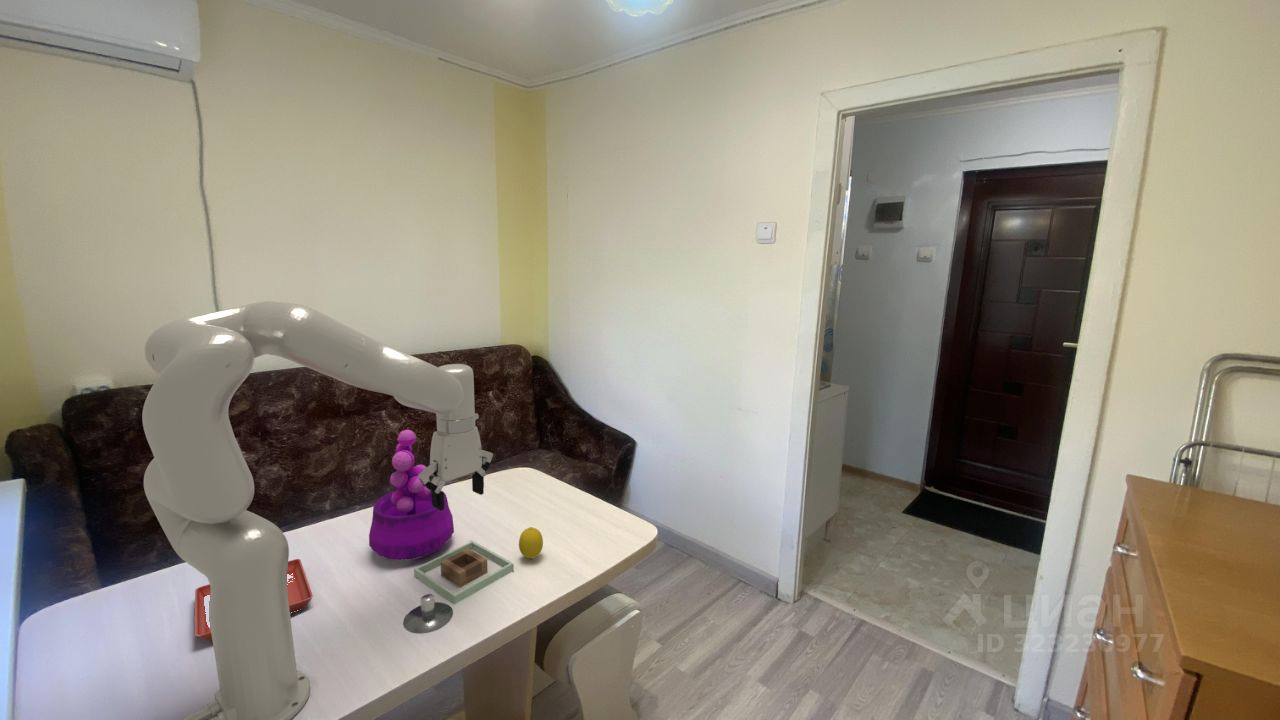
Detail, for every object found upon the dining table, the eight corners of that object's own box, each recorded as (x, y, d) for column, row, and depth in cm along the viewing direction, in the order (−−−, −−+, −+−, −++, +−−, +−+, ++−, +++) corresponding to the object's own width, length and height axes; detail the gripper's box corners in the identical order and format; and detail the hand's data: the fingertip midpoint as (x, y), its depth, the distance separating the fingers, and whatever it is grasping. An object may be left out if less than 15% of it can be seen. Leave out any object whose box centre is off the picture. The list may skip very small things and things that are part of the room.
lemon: (537, 566, 121) (537, 534, 119) (515, 563, 122) (514, 531, 120) (546, 553, 126) (546, 523, 125) (525, 550, 127) (524, 520, 126)
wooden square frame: (441, 576, 116) (440, 561, 115) (468, 562, 121) (468, 548, 120) (460, 588, 112) (459, 573, 111) (487, 573, 117) (487, 559, 116)
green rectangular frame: (455, 607, 106) (454, 596, 106) (414, 579, 115) (413, 568, 115) (513, 573, 118) (513, 563, 118) (472, 550, 127) (472, 540, 126)
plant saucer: (196, 601, 107) (194, 587, 106) (301, 570, 118) (299, 556, 117) (197, 653, 93) (194, 637, 92) (315, 612, 105) (313, 597, 104)
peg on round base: (420, 644, 96) (418, 620, 95) (394, 623, 101) (392, 600, 100) (462, 618, 103) (461, 595, 102) (436, 599, 108) (435, 578, 108)
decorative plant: (456, 562, 122) (450, 439, 116) (366, 578, 115) (356, 448, 109) (452, 524, 139) (447, 415, 133) (374, 536, 132) (365, 421, 126)
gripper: (480, 411, 119) (482, 482, 122) (407, 429, 105) (411, 509, 108) (501, 418, 114) (502, 492, 117) (427, 438, 101) (431, 520, 104)
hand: (458, 500), depth 113 cm, fingers open, 9 cm apart
